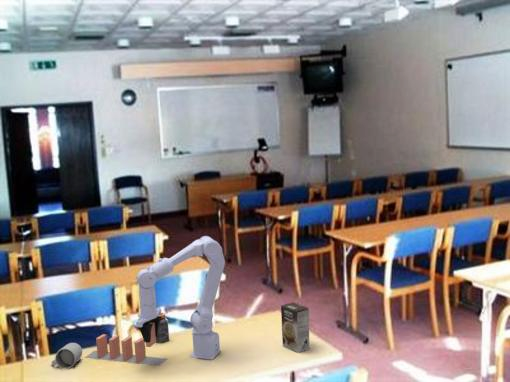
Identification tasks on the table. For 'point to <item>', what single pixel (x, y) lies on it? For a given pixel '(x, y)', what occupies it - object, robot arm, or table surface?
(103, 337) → the domino
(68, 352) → the ceramic mug
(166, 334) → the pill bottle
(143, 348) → the domino
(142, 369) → the table surface
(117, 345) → the domino
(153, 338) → the domino
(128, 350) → the domino
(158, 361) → the runner mat
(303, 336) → the coffee box
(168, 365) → the table surface
